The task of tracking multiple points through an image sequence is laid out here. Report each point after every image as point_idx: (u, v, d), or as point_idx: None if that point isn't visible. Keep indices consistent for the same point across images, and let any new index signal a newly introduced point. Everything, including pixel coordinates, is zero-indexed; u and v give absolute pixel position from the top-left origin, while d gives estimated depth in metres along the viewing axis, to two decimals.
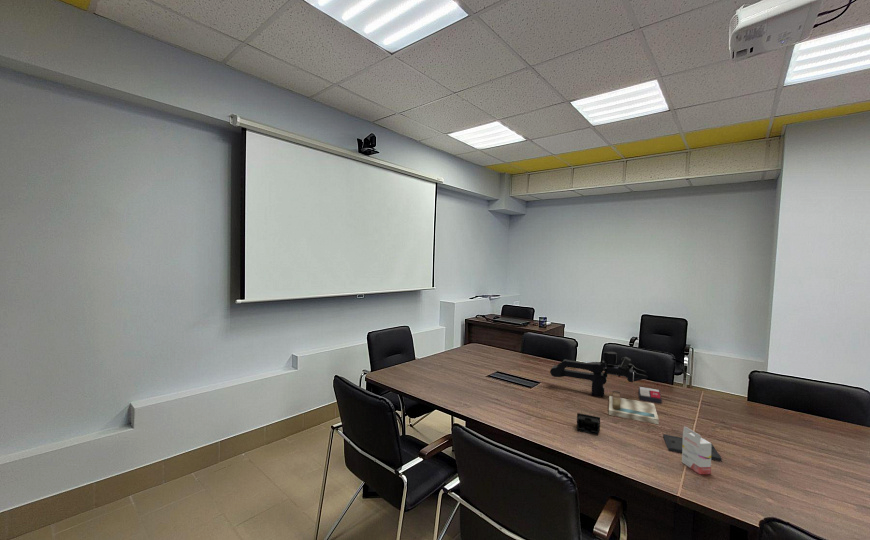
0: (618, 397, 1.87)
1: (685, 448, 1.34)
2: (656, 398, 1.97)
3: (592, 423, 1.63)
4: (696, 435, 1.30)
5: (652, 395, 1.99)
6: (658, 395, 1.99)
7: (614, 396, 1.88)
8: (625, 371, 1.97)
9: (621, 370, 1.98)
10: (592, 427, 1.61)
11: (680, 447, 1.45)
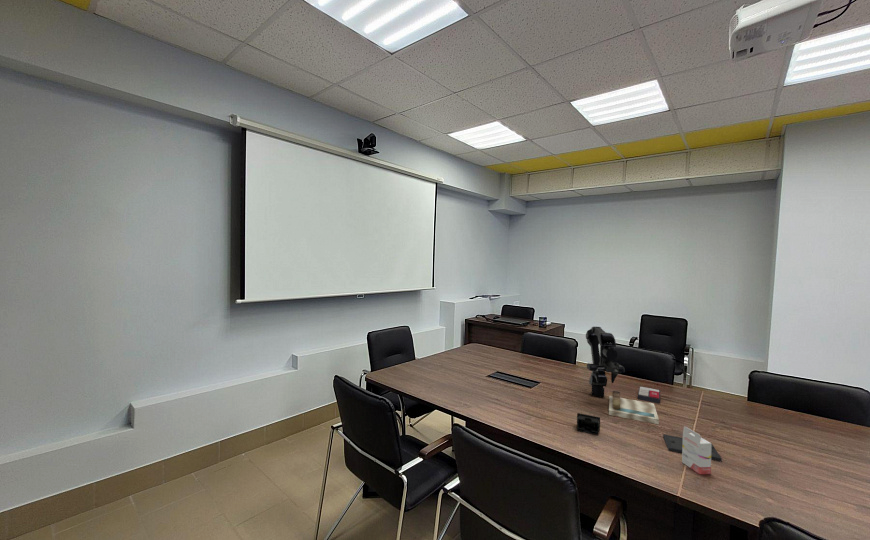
0: (618, 397, 1.87)
1: (685, 448, 1.34)
2: (654, 398, 1.97)
3: (592, 423, 1.63)
4: (696, 435, 1.30)
5: (651, 395, 2.00)
6: (657, 395, 2.00)
7: (614, 396, 1.88)
8: (601, 363, 1.93)
9: (601, 360, 1.92)
10: (592, 427, 1.61)
11: (680, 447, 1.45)
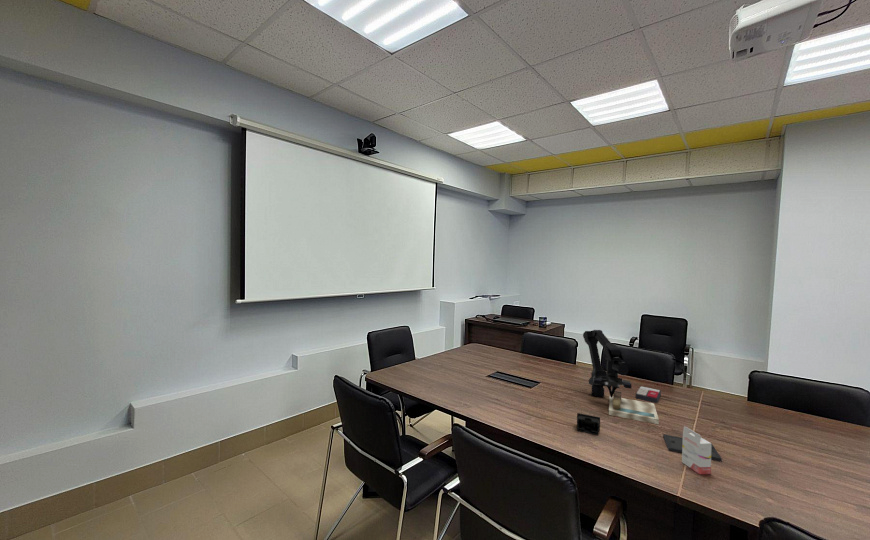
0: (619, 397, 1.87)
1: (685, 448, 1.34)
2: (652, 397, 1.98)
3: (592, 423, 1.63)
4: (696, 435, 1.30)
5: (649, 394, 2.01)
6: (655, 395, 2.00)
7: (615, 396, 1.88)
8: (606, 377, 1.92)
9: (607, 374, 1.92)
10: (592, 427, 1.61)
11: (680, 447, 1.45)
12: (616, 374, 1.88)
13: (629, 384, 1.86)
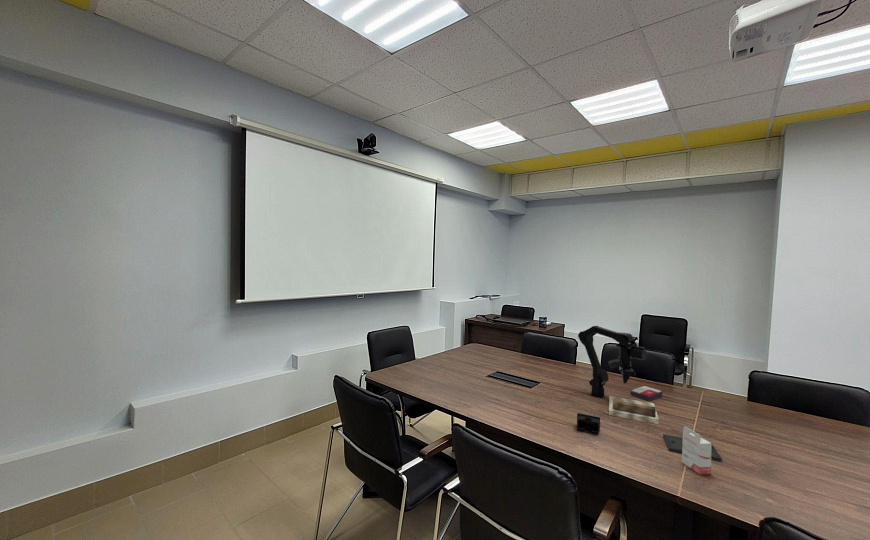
0: (632, 405, 1.77)
1: (685, 448, 1.34)
2: (645, 395, 2.01)
3: (592, 423, 1.63)
4: (696, 435, 1.30)
5: (643, 392, 2.03)
6: (650, 393, 2.02)
7: (633, 404, 1.78)
8: None
9: None
10: (592, 427, 1.61)
11: (680, 447, 1.45)
12: (620, 359, 1.92)
13: (623, 370, 1.86)
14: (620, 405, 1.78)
